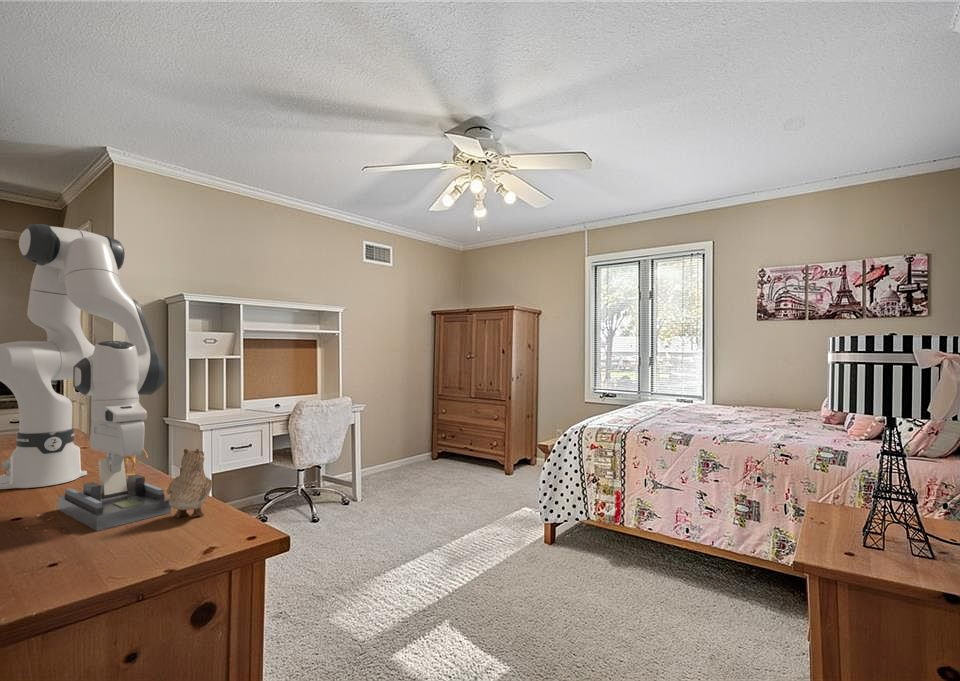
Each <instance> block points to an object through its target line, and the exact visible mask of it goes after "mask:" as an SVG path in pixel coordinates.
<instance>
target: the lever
mask: <svg viewBox="0 0 960 681" xmlns="http://www.w3.org/2000/svg"><path fill="white" fill-rule="evenodd" d="M97 463H98V464H97V466H98V474H99V476H98V477H99V483H100V484H99V485H101V499H106V498H111V497H116V496H120V495H125V494H128V489H127V483H126V475H125V465H124V459H123V461H122V464H121V471H120V472H116V473H113V472H110V471H109V464H108V460H107V458H105V459H100V460H98V461H97Z"/></svg>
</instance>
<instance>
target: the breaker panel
mask: <svg viewBox="0 0 960 681" xmlns="http://www.w3.org/2000/svg"><path fill="white" fill-rule="evenodd" d="M145 483H146V482H145V476H143V475H140V474H136V473H135V475H130V476H128V487H127V489H128V494H125V495H120V496H116V497H111V498H106V499H101V485H100V484H98V483H96V482H87V483H83V488H82V489H83V490H82V491H80V492H81V493H83V494H85V495H87V496H90V497H92V498H94V499H96V500H98V501H100V502H102V507H103V512H102V513H95V512H93V511H91V510H89V509H87V508H85V507H83V506H81V505H79V504H77V503H75V502H73V501H71V500H69V499H67V498H65V494H64V495H61V496H58V499H57V500H58V502H57V503H58V504H57V510H58V511H60V512H62V513H63V514H65V515H66V516H69V517H71V518H72V519H74V520H76V521H78V522H79V523H82V524H83V525H85V526H86V527H89V528H90V529H92V530H94V531H97V532H98V531H103V530H107V529H111V528H114V527H115V528H116V527H120V526H123V525H127V524H131V523H134V522H135V523H136V522H138V521H143V520H147V519H150V518H155V517H158V516H162V515H163V516H164V515H166V514H171V513H172V507H171V506H170V505H169V499H170V497H169V498H168V497H167V496H164V499H157V498H155V497H152V496H149V495H147V494H144V488H145Z"/></svg>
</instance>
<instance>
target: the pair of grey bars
mask: <svg viewBox="0 0 960 681" xmlns="http://www.w3.org/2000/svg"><path fill="white" fill-rule="evenodd" d="M126 483H127V487H128V478H126ZM164 489H165V488H162V487H158V486H155V485H153V484H150V483H148V482H145V488H144V494H147V495H149V496H152V497H155V498H157V499H164V497H165V493H164V492H165V491H164ZM81 492H82V491H79V490H76V489H74V488H72V487H71V488H66V489H65V493H64V495H65V498H67V499H69V500H71V501H73V502H75V503H77V504H79V505H81V506H83V507H85V508H87V509H89V510H91V511H93V512H95V513H102V512H103V507H102V502H100V501H98V500H96V499H94V498H92V497H90V496H87V495H85V494H83V493H81Z"/></svg>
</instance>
